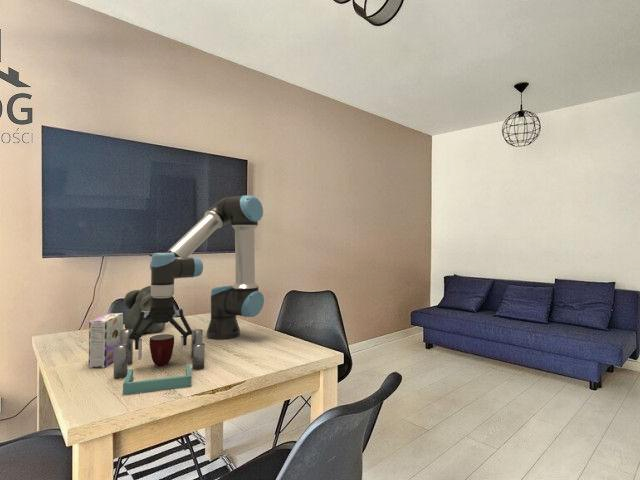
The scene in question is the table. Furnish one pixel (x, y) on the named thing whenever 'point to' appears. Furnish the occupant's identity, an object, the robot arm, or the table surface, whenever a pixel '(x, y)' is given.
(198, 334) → the cylinder
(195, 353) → the cylinder
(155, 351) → the mug
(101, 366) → the candy box
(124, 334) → the spacer back right
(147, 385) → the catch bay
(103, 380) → the table surface
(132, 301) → the stuffed elephant
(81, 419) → the table surface
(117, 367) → the spacer front right
